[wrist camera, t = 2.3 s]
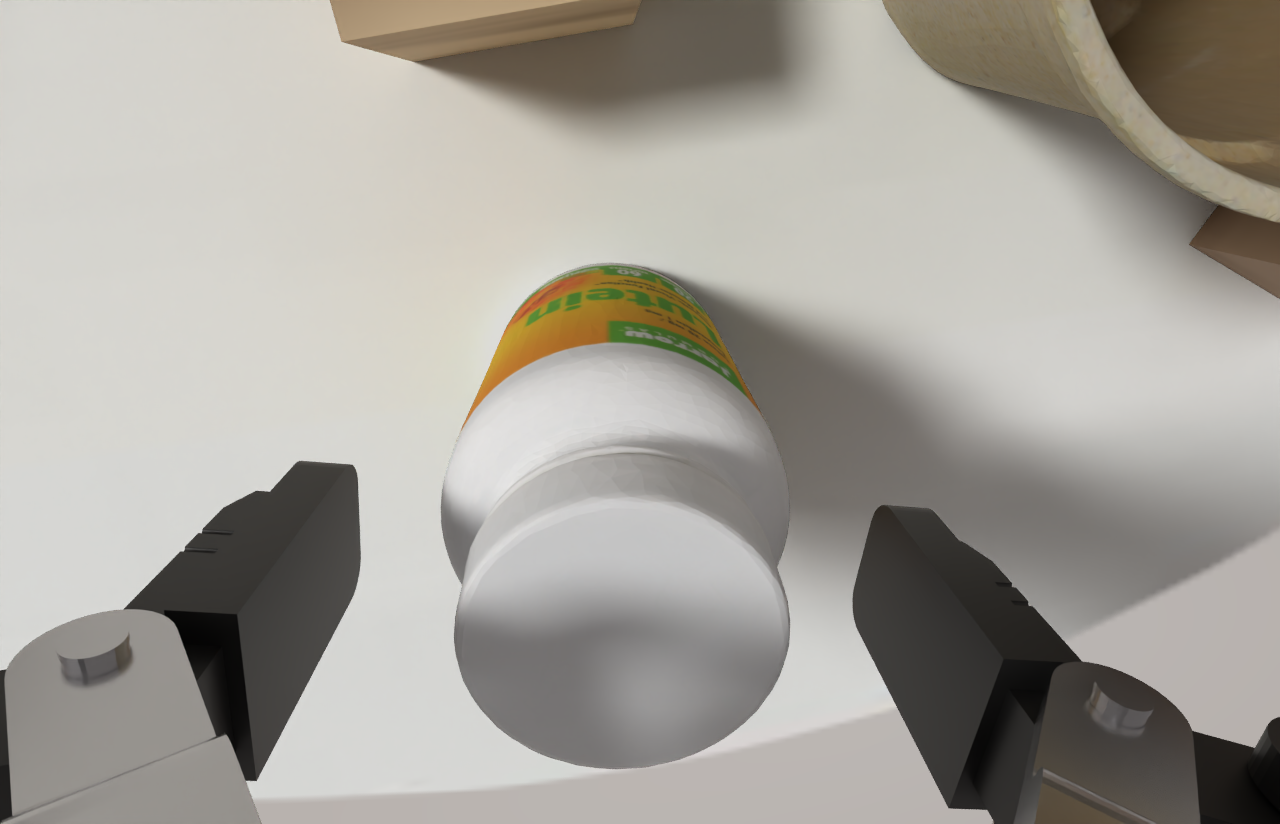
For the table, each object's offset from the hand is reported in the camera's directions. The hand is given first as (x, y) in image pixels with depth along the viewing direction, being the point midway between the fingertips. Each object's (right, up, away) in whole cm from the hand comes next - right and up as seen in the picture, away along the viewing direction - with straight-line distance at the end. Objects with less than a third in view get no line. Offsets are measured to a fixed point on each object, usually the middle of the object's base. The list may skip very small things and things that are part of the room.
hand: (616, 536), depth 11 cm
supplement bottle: (0, +3, +6) cm, 7 cm away
